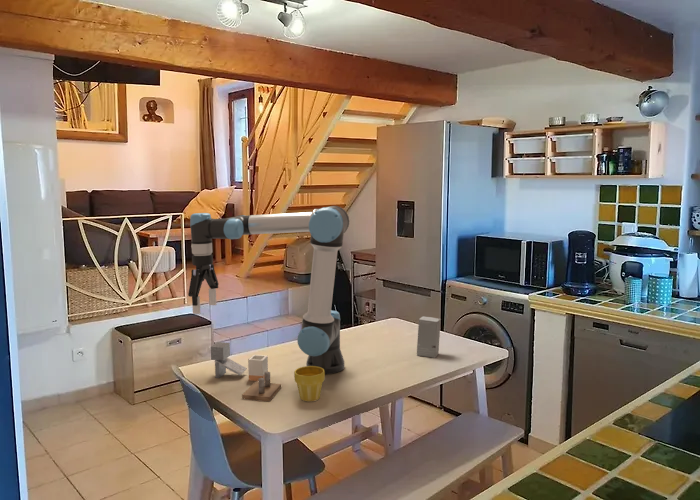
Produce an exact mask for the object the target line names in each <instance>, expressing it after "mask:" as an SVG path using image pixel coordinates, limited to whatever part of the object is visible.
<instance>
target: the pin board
mask: <svg viewBox="0 0 700 500" xmlns="http://www.w3.org/2000/svg"><path fill="white" fill-rule="evenodd" d="M281 389H282V384H281V383H276V382H275V383H273V382H271V372H270V371H268V372H265V380H264V378H259V379H258V381H254V382H253V383H252V384H250V386H249V387H248V388H247V389H246V390H245V391H244V392H243V393H242V394H241V399H242V400H249V401H250V400H252V401H259V402H260V401H264V402H271V401H272V399H273V398H274V397H275V396H276V395H277V394H278V392H279V391H280V390H281Z"/></svg>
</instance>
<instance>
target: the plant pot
mask: <svg viewBox="0 0 700 500" xmlns="http://www.w3.org/2000/svg"><path fill="white" fill-rule="evenodd" d="M325 375H326V374H325V371H324V369H323V368H321V367H317V366H300V367H298V368H296V369H295V370H294V375H293V376H294V382H295V383H296V385H297V389H298V393H299V397H300V400H301V401H304V402H306V403H307V402H315V401H318V400H319V399H320V397H321V392H322V388H323V383H324V381H325V378H326V377H325Z"/></svg>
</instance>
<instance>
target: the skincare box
mask: <svg viewBox="0 0 700 500" xmlns="http://www.w3.org/2000/svg"><path fill="white" fill-rule="evenodd" d="M441 320H442V319H441V318H437V317H432V316H421V317H419V319H418V328H417V342H416V343H417V344H416V356H419V357H426V358H433V359H435V358H436V357H437V356H438V355H439V350H440V336H441V335H440V334H441V332H440V331H441Z"/></svg>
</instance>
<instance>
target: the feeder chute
mask: <svg viewBox="0 0 700 500" xmlns="http://www.w3.org/2000/svg"><path fill="white" fill-rule="evenodd" d="M230 345H231V343H230V342H221V341H217V342H215V343H214V344H212V345H211V346H210V360H212V361H214V374H215V376H214V377H215V379H220V378H221V377H223V376H224V375H225V374H226V373H227V370H228V371H231V372H232V373H234V374H236V375H238V376H241V375H242V374H243V373H245V372H246V371H247V368H248V367H245V366H243V365H241V364H239V363H238V362H236V361H234V360H233V359H230V358H229V357H230V356H231V346H230Z"/></svg>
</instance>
